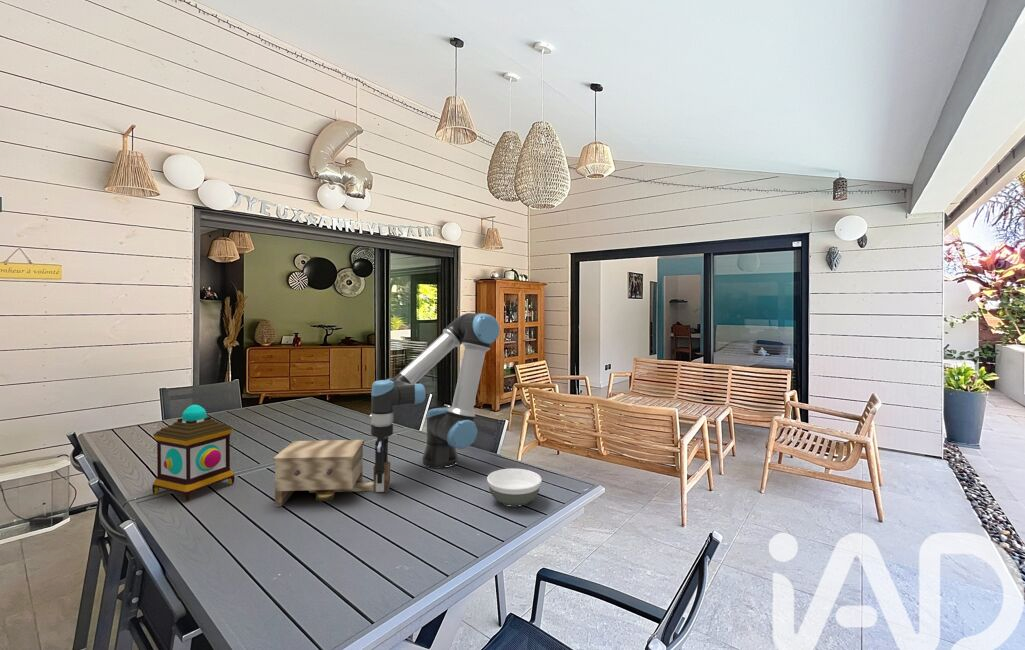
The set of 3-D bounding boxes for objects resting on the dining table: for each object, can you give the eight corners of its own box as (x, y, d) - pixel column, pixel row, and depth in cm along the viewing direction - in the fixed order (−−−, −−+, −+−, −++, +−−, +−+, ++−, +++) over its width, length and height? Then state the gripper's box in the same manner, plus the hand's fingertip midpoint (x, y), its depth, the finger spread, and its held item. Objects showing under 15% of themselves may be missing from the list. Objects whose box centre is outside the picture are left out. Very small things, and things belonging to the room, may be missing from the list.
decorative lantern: (144, 495, 153) (143, 407, 152) (202, 475, 171) (202, 397, 170) (185, 505, 146) (184, 413, 145) (241, 483, 164) (240, 401, 163)
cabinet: (364, 482, 168) (364, 439, 167) (352, 505, 148) (352, 457, 147) (293, 484, 164) (293, 441, 164) (271, 508, 145) (271, 459, 144)
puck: (335, 493, 158) (335, 486, 157) (333, 499, 152) (333, 492, 152) (317, 495, 156) (316, 488, 156) (314, 502, 150) (314, 494, 150)
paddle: (390, 486, 164) (390, 461, 164) (387, 491, 159) (388, 466, 159) (312, 488, 161) (312, 463, 161) (308, 493, 156) (308, 468, 156)
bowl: (501, 518, 141) (501, 492, 140) (477, 496, 157) (478, 472, 157) (551, 507, 149) (552, 483, 149) (524, 487, 166) (525, 465, 166)
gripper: (375, 418, 169) (375, 479, 170) (366, 430, 151) (365, 499, 152) (396, 417, 170) (395, 478, 171) (389, 430, 152) (388, 498, 153)
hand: (381, 488), depth 161 cm, fingers closed on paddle, 5 cm apart
